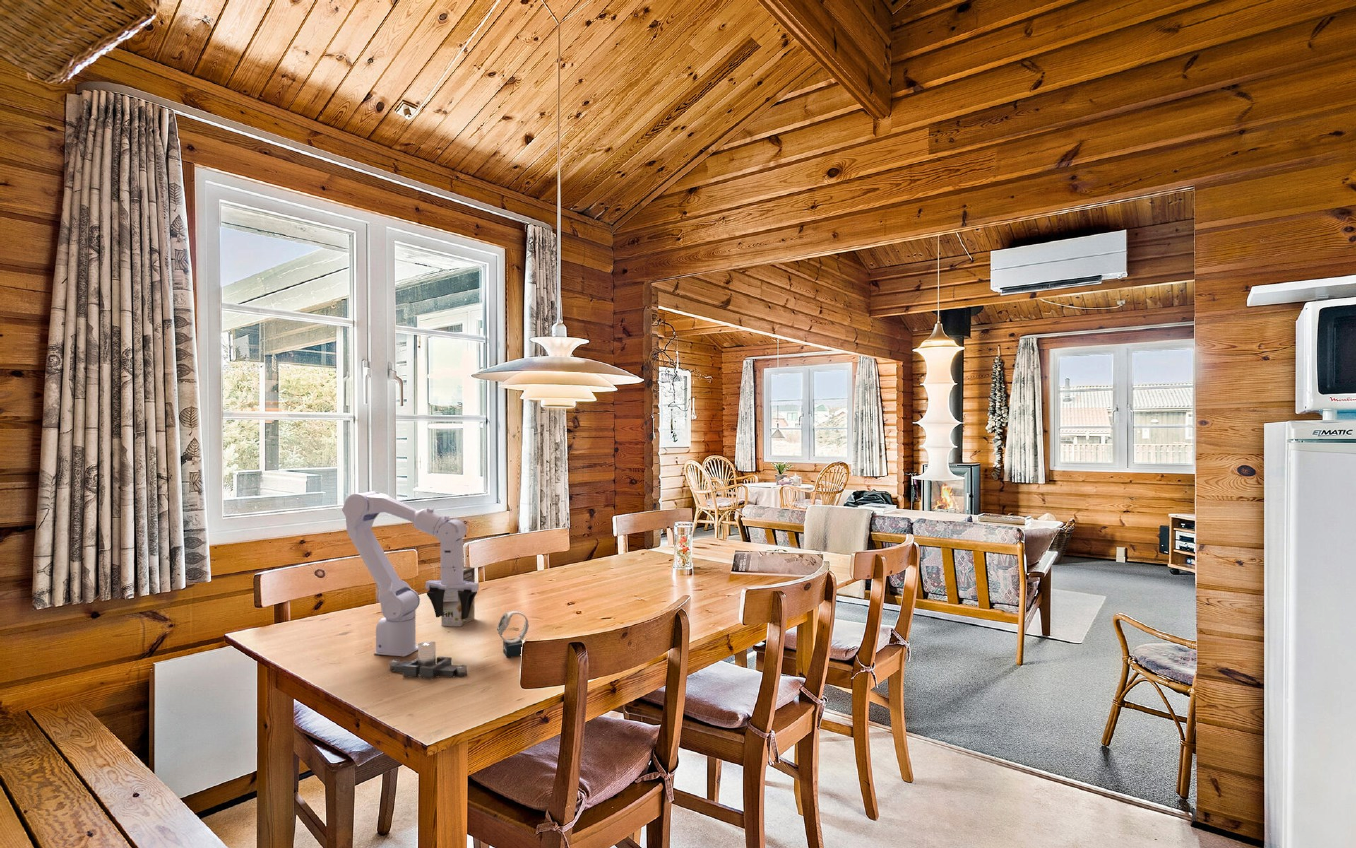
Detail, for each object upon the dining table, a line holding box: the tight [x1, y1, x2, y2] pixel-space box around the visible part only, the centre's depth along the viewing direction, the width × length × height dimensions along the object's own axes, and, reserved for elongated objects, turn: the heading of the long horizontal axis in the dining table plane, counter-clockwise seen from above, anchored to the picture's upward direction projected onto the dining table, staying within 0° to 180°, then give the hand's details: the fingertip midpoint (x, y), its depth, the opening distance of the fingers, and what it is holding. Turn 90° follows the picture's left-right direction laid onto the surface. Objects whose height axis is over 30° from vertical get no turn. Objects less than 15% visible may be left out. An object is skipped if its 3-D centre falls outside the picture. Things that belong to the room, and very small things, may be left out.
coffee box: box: [440, 566, 476, 627], centre depth 211 cm, size 9×6×16 cm
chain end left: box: [389, 657, 420, 678], centre depth 170 cm, size 10×8×2 cm
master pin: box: [417, 640, 437, 676], centre depth 168 cm, size 4×4×7 cm
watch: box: [496, 610, 530, 659], centre depth 182 cm, size 6×8×11 cm
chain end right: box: [419, 656, 468, 680], centre depth 167 cm, size 10×8×2 cm
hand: (452, 617), depth 182 cm, fingers open, 7 cm apart
